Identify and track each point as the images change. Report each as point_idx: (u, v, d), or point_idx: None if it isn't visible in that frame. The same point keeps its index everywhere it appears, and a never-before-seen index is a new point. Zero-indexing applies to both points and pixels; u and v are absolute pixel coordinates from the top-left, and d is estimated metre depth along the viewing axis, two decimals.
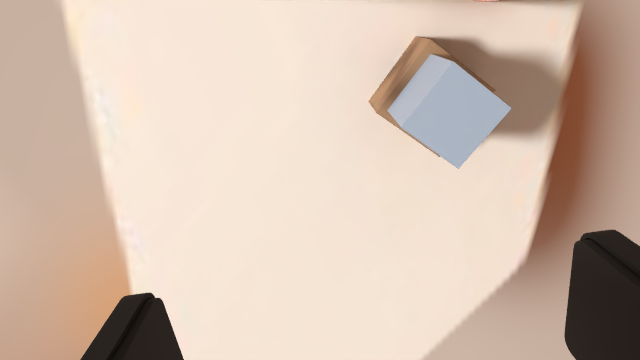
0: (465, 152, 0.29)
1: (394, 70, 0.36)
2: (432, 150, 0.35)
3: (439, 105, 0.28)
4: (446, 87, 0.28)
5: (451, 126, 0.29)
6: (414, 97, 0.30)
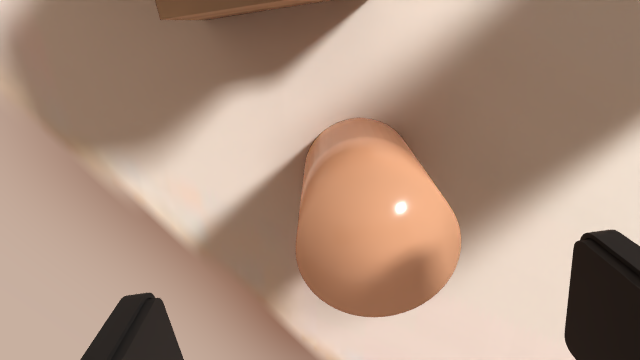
0: None
1: None
2: None
3: None
4: None
5: None
6: None
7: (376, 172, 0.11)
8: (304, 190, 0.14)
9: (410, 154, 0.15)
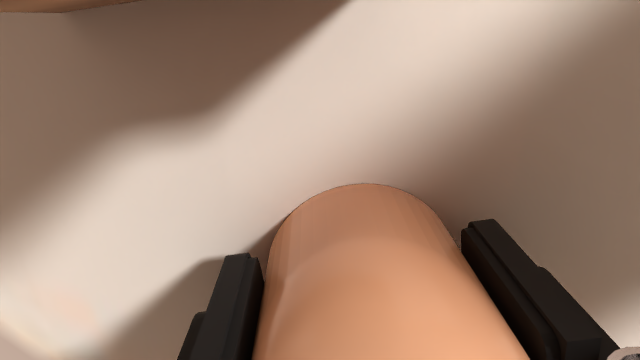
0: None
1: None
2: None
3: None
4: None
5: None
6: None
7: None
8: None
9: (478, 293, 0.07)
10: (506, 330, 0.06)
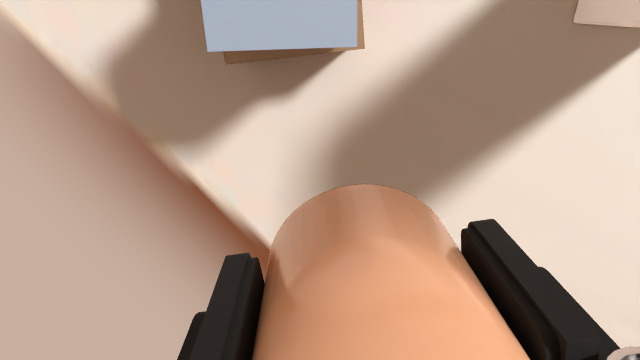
0: None
1: None
2: None
3: None
4: (334, 0, 0.14)
5: None
6: None
7: None
8: None
9: (478, 294, 0.07)
10: (506, 331, 0.06)
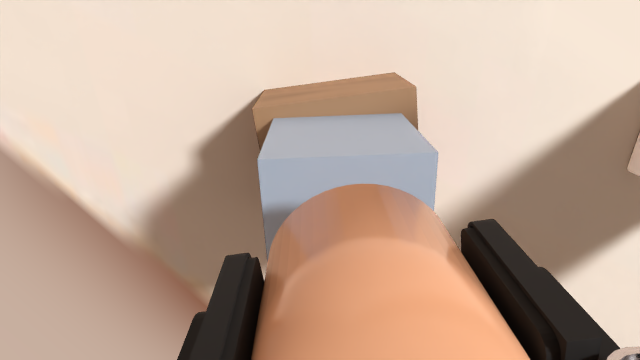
0: (274, 196, 0.13)
1: None
2: (273, 108, 0.17)
3: None
4: None
5: None
6: None
7: None
8: None
9: (478, 294, 0.07)
10: (506, 330, 0.06)
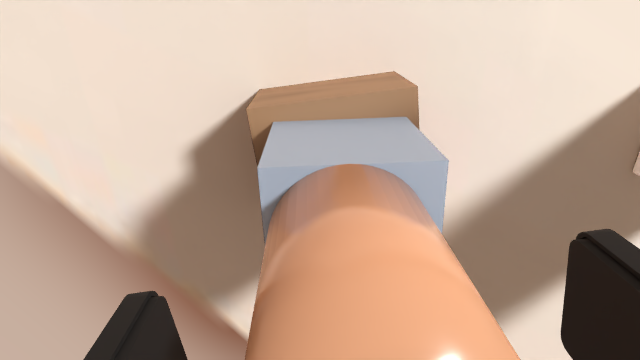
0: (275, 206, 0.12)
1: None
2: (268, 108, 0.16)
3: None
4: None
5: None
6: None
7: (394, 348, 0.05)
8: (254, 318, 0.08)
9: (441, 245, 0.08)
10: (460, 271, 0.08)
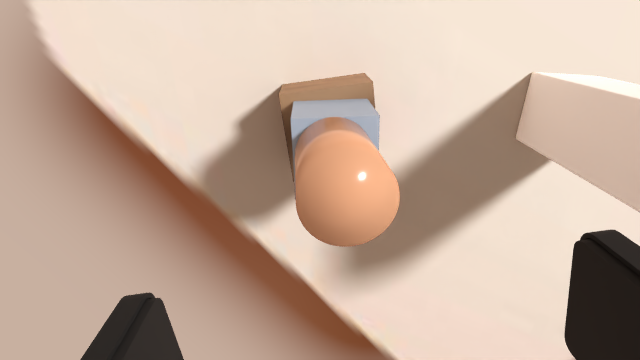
0: (298, 137, 0.25)
1: None
2: (291, 94, 0.30)
3: None
4: None
5: None
6: None
7: (345, 151, 0.18)
8: (298, 166, 0.21)
9: (368, 140, 0.22)
10: (374, 147, 0.21)
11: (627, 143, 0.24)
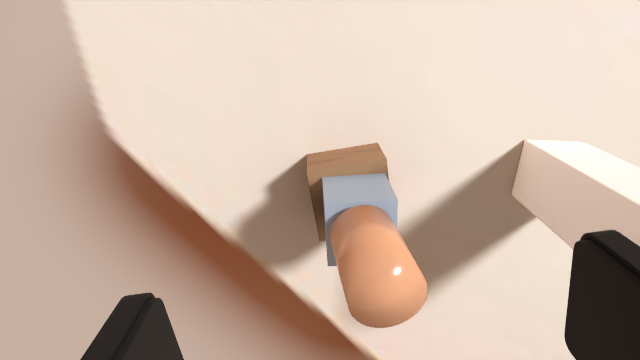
0: (330, 218, 0.31)
1: None
2: (317, 171, 0.35)
3: None
4: None
5: None
6: None
7: (393, 264, 0.24)
8: (346, 259, 0.26)
9: (401, 240, 0.27)
10: (406, 248, 0.27)
11: (600, 222, 0.29)
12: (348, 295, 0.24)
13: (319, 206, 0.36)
